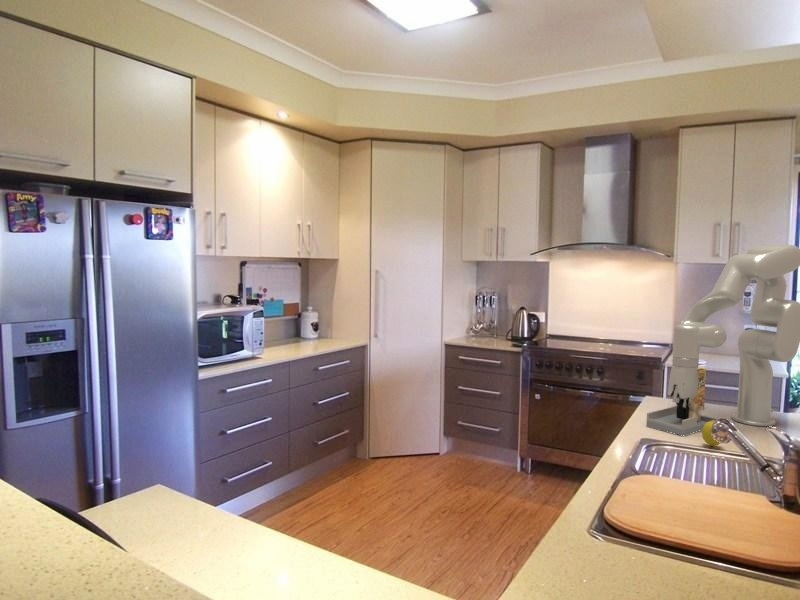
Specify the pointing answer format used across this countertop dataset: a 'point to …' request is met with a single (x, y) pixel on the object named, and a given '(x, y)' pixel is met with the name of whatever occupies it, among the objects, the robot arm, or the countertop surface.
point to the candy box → (700, 388)
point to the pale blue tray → (675, 421)
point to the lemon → (708, 434)
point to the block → (695, 411)
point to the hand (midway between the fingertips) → (682, 418)
